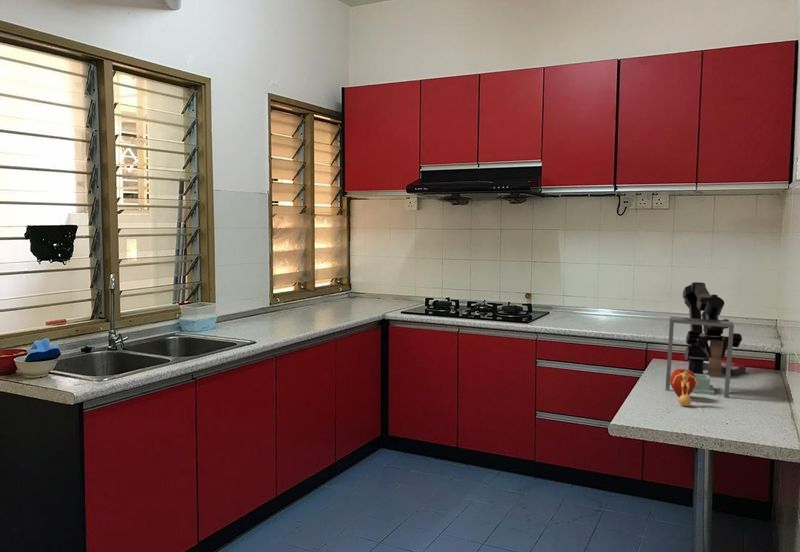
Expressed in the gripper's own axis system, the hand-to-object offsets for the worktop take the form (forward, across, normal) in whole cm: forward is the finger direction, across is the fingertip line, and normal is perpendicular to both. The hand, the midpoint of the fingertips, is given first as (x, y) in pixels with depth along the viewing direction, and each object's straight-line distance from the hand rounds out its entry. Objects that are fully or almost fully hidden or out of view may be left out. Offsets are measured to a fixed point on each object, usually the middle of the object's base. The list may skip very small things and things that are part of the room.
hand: (716, 357), depth 240 cm
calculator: (-19, +13, +39) cm, 46 cm away
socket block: (+7, -6, +12) cm, 15 cm away
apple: (+18, -14, +1) cm, 23 cm away
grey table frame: (+10, -6, +9) cm, 15 cm away
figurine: (+26, -15, -6) cm, 30 cm away
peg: (+4, 0, +6) cm, 7 cm away
